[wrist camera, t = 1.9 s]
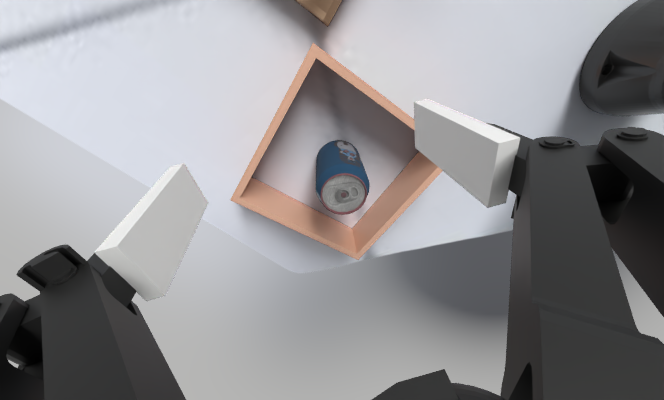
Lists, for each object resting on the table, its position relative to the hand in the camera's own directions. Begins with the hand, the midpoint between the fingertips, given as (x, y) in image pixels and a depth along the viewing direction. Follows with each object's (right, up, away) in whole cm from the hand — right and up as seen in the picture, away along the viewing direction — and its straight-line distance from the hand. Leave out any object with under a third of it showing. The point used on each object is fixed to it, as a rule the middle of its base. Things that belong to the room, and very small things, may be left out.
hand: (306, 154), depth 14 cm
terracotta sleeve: (+2, +4, +27) cm, 27 cm away
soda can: (+2, +4, +27) cm, 27 cm away
